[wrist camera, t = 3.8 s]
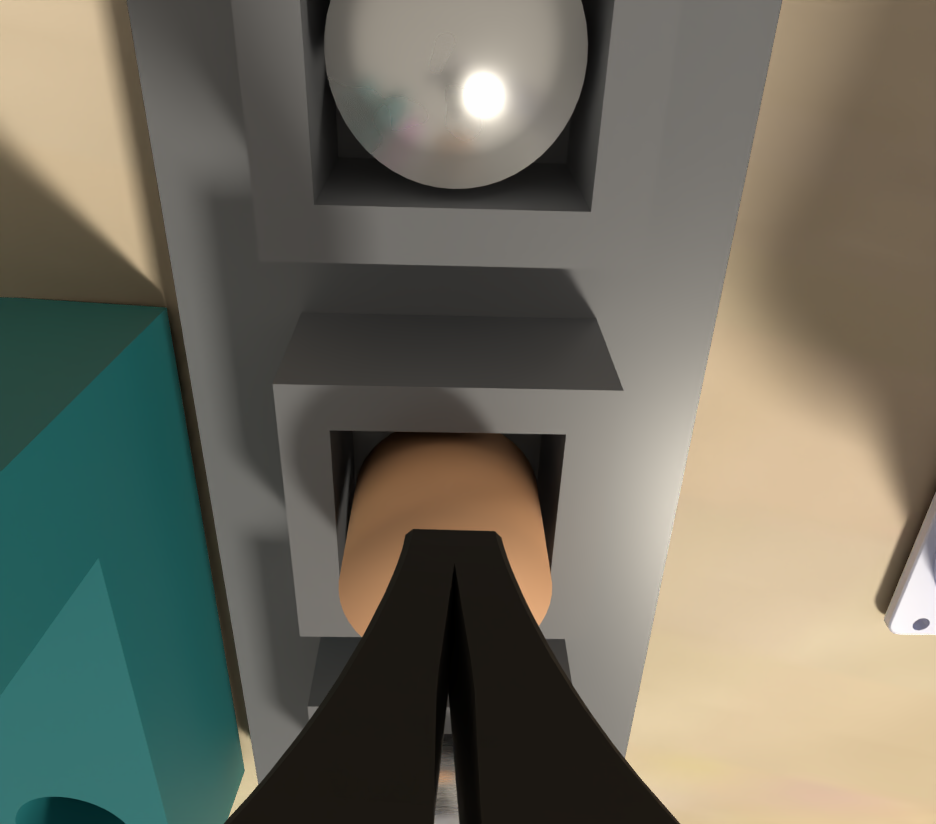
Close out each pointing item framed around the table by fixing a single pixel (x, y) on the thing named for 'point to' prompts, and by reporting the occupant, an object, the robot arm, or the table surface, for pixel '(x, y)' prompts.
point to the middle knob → (441, 511)
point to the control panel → (445, 316)
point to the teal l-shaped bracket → (105, 579)
